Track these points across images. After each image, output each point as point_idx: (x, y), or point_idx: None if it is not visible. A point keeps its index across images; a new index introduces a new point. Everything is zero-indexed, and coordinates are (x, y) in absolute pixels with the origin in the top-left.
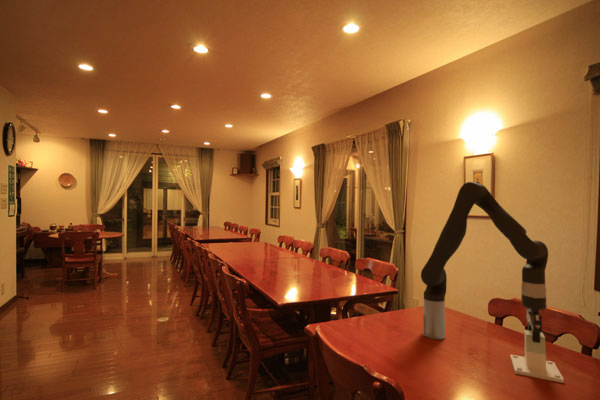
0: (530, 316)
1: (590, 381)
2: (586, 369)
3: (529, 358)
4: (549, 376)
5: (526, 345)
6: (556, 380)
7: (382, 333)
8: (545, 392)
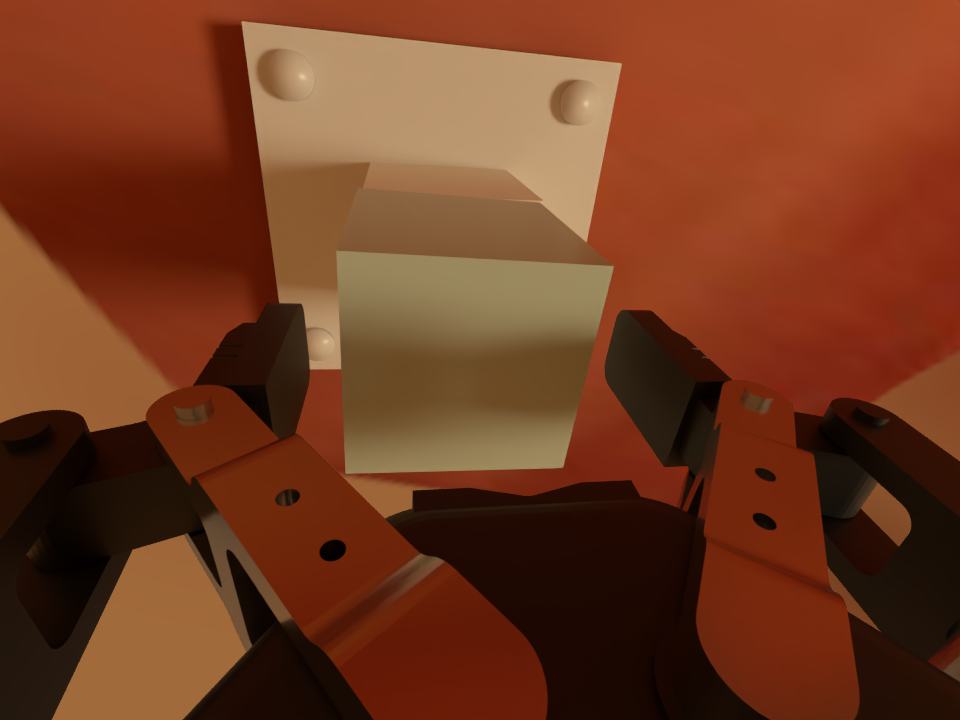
0: (321, 667)
1: (412, 473)
2: (563, 484)
3: None
4: (282, 294)
5: (355, 203)
6: None
7: None
8: (35, 211)
